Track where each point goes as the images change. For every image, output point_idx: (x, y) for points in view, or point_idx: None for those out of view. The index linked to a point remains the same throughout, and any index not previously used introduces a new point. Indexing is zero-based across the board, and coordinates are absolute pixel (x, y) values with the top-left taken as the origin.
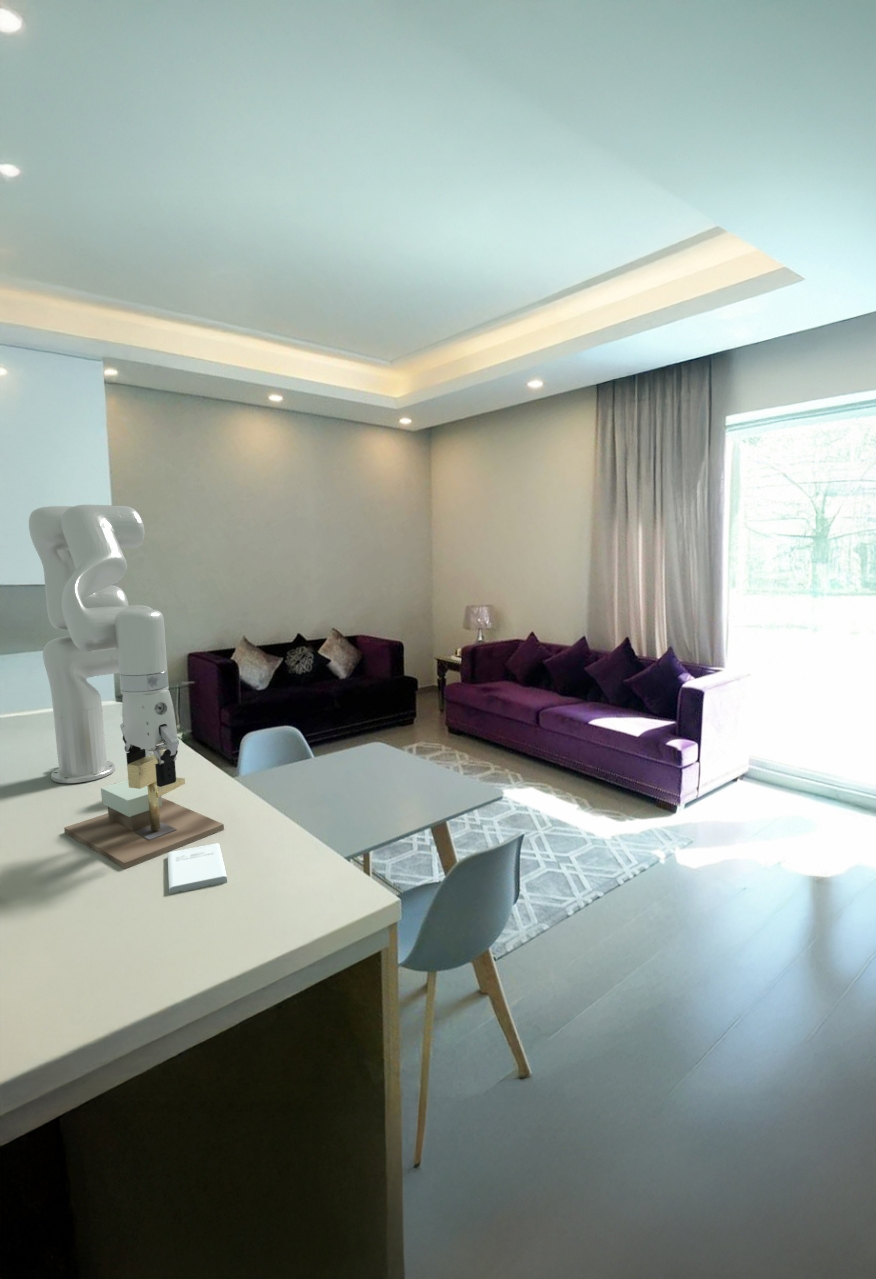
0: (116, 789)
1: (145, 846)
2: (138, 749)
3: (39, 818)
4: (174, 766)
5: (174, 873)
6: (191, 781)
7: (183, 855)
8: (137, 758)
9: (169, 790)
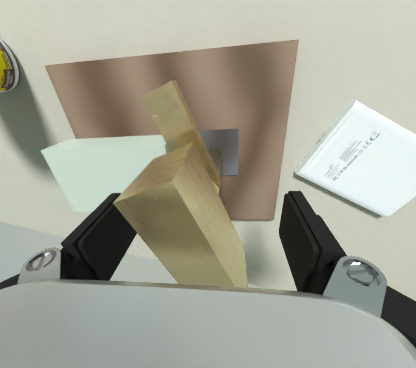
0: (98, 199)
1: (251, 185)
2: (81, 269)
3: (49, 214)
4: (323, 228)
5: (363, 199)
6: None
7: (330, 166)
8: (109, 246)
9: (204, 145)
